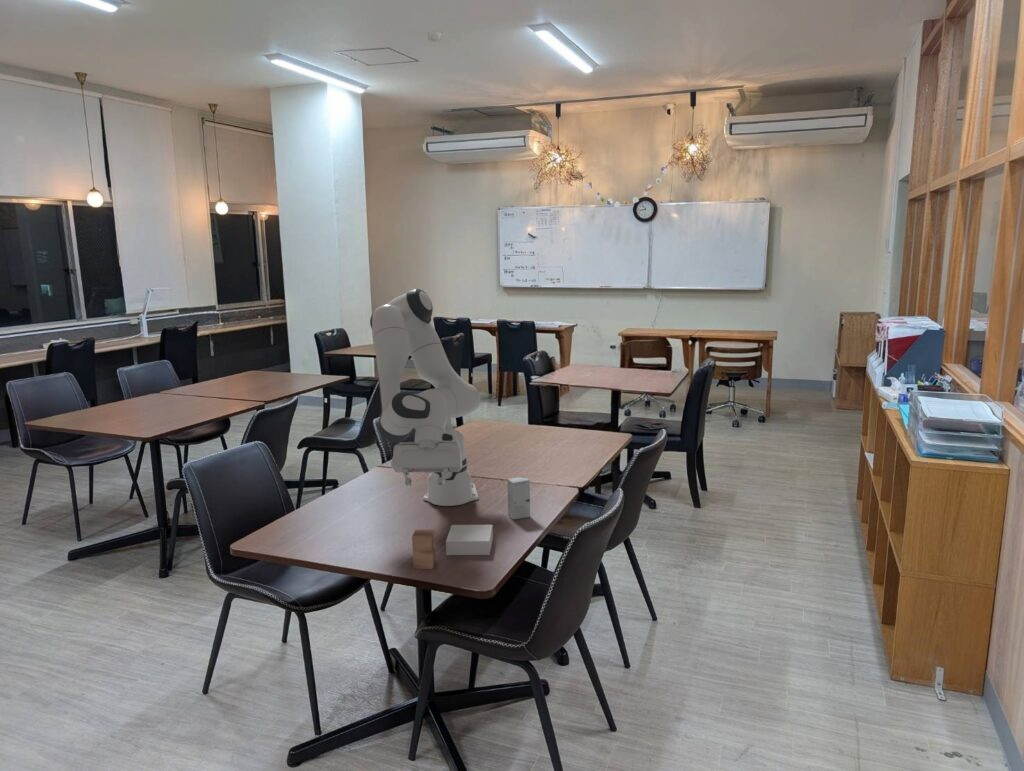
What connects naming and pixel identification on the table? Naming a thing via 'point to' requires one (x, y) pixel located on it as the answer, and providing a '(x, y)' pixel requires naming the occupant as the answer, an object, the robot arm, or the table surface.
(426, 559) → the terracotta block
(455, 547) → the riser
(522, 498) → the skincare box
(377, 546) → the table surface
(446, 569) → the table surface
